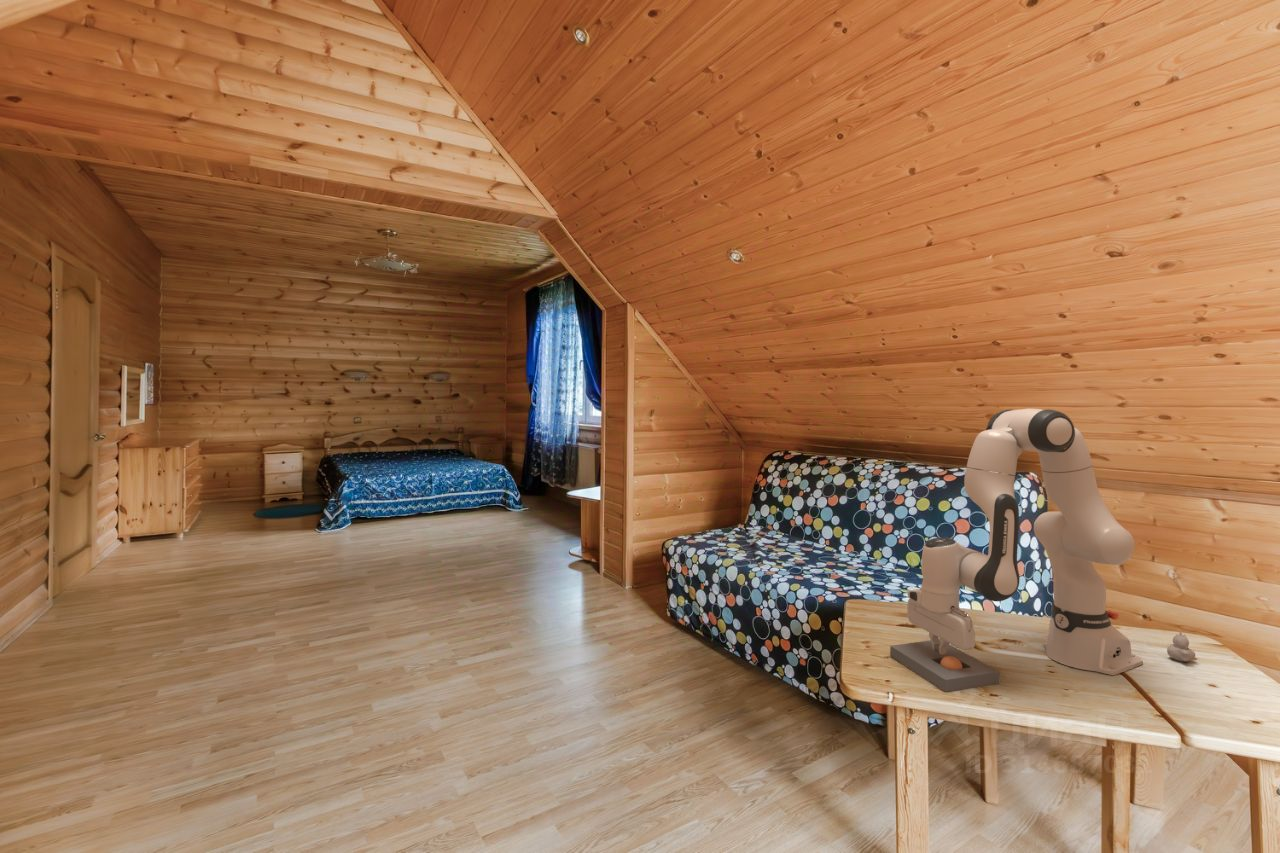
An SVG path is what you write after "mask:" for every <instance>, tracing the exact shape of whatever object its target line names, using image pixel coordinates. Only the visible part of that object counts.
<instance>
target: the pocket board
mask: <svg viewBox="0 0 1280 853" xmlns="http://www.w3.org/2000/svg"><path fill="white" fill-rule="evenodd" d="M939 642H940V641H939ZM940 644H941V642H940ZM932 647H933V644H932V642H931V639H930V640H924V641H915V642H907V643H902V644H901V643H900V644H895V645H894V644H893V645H890V648H889V649H890V650H889V651H890V654H889V657H890V658H892V659H894V660H895V661H896V662H898V663H900V664H901V665H903V666H904V667H906V668H907V669H908V670H910V671H912V672H913V673H915V674H916V675H918V676H919V677H921V678H922V679H924V680H926V681H927V682H929V683H931V684H932V685H934V686H935V687H937V688H938V689H940V690H941V691H943V693H944V692H945V693H949V692H954V691H959V690H967V689H973V688H978V687H985V686H991V685H998V684H1000V681H1001V680H1000V677H1001V674H1000V671H999V670H998V669H995V668H994V667H992V666H991V665H989V664H986V663H985V662H983V661H981V660H978V659H977V658H976V657H974V656H971V655H970V654H968V653H966V652H964V651H963V650H961V649H959V648H957V647H955V646H954V645H952V644H949V645H948V646H947V648H946V654H943V655H941V654H940V653H938V652H936V651H934V650H933V649H932ZM946 656H953V657H955V658H957V659H958V660H959V661H960V662H961V664H962V669H956V670H948V669H947V668H945V667H943V666H942V665H940V662H941V660H942V659H943V658H944V657H946Z"/></svg>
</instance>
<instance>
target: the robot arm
mask: <svg viewBox="0 0 1280 853" xmlns="http://www.w3.org/2000/svg"><path fill="white" fill-rule="evenodd" d="M1029 451H1030V452H1031V451H1033V452H1036V453H1037V454H1038V456H1039V457H1038V458H1039V463H1040V464H1039V465H1040V470H1041V475H1042V480H1043V484H1044V490H1045V493H1046V496H1047V498H1048V500H1049V501H1050V502H1051V503H1052V504H1053V505H1055V507H1056V508H1057V509H1058V510H1057V511H1054V510H1052V511H1045V512H1043V513H1040V515H1039V516H1037V518H1036V519H1035V521H1034V524H1033V534H1034V536H1035V537H1036V538H1037V540H1038V541H1039V543H1041V545H1042V547H1043V548H1044V550H1045V553H1046V554H1047V557H1048V560H1049V564H1050V566H1051V570H1052V574H1053V602H1052V603H1051V609H1050V610H1051V617H1052V618H1051V619H1050V620H1049V625H1048V634H1047V638H1046V639H1047V640H1046V641H1044V644H1043V646H1044V647H1045V651H1044V652H1045V655H1046V656H1047V657H1048V658H1050V659H1052V660H1053V661H1055V662H1057V663H1060V664H1062V665H1064V666H1068V667H1070V668H1071V667H1072V668H1075V669H1079V670H1084V671H1090V672H1097V673H1102V674H1106V675H1110V676H1116V675H1119V674H1121V673H1123V672H1126V671H1128V670H1130V669H1134V668H1137V667H1139V666H1142V665H1143V664H1144V662H1143V659H1141V657H1139V656H1138V655H1136V654H1134V653H1132V645H1131V641H1130V639H1129V638H1128V637H1127V636H1126V635H1124V634H1123V633H1122V632H1121V631H1119V630H1118V629H1117V628H1116V627H1114V626H1113V625H1112V623H1111V619H1112V620H1113V621H1117V620H1118V618H1119V616H1120V615H1119V614H1120V613H1118V612H1117V611H1112V610H1110V609H1109V610H1106V608H1107V607H1106V606H1107V605H1106V604H1107V603H1106V601H1107V584H1106V581H1105V579H1104V577H1102V575H1101V574H1099V572H1098V571H1097V570H1096V567H1095V565H1094V563H1096V564H1102V565H1103V564H1105V565H1113V566H1116V565H1119V566H1120V565H1122V564H1124V563H1127V561H1129V560H1130V559H1131V557H1132V556H1133V554H1134V551H1135V547H1136V545H1135V540H1134V537H1133V535H1132V534H1131V532H1129V531H1128V530H1127V529H1126V528H1124V526H1122V525H1121V524H1120V523H1119V522H1118V521H1117V520H1116V519H1115V517H1114V516H1113V514H1112V513H1111V512H1110V510H1109V508H1108V507H1107V505H1106V503H1105V502H1104V499H1103V498H1102V496H1101V493H1100V491H1099V488H1098V484H1097V480H1096V475H1095V471H1094V466H1093V461H1092V457H1091V454H1090V450H1089V448H1088V445H1087V442H1086V440H1085V438H1084V436H1083V433H1082V432H1081V431H1080V430H1079V429H1078V428H1076V427H1075V426H1074V423H1073V422H1072V420H1071V418H1070V417H1069V416H1068V415H1067V414H1065V413H1063V412H1061V411H1059V410H1055V409H1049V408H1048V409H1041V408H1028V407H1027V408H1022V409H1018V408H1017V409H1011V408H1009V409H1004V410H1002V411H1001V410H1000V411H999V412H996V413H995V414H994V415H992V416H991V418H990V419H989V421H988V423H987V425H986V427H985V429H984V430H983V431H980V432H979V433H978V434H977V435H976V436H975V440H974V441H973V444H972V446H971V449H970V453H969V455H968V458H967V463H966V468H965V472H964V473H965V474H964V479H963V480H964V481H963V482H964V485H963V486H964V491H965V493H966V494H967V496H968V498H969V499H970V500H971V501H972V502H973V503H974V504H976V505H977V506H978V507H979V508H980V509H981V510H982V511H983V513H984V514H985V516H986V517H987V519H988V522H989V535H988V536H989V539H988V553H987V554H985V553H983V552H980V551H978V550H974V549H972V548H968V547H966V546H964V545H962V544H960V543H959V542H957V541H956V540H955V539H953V538H949V537H936V538H935V537H934V538H931V539H929V540H927V541H925V543H924V546H923V547H922V548H923V549H922V554H921V568H920V569H921V574H922V582H921V584H920V585H921V586H920V588H917V589H910V590H907V597H908V600H907V608H906V609H907V610H906V611H907V612H906V613H907V614H906V615H907V619H908V621H909V623H911V624H912V625H915V626H916V627H917V628H920V629H922V630H924V631H926V632H928V637H929V639H930V640H931V642H932V644H933V647H932V649H933V650H934V651H936V652H938V653H940V654H941V655H943V654H946V648H947V646H948V645H951V646H953V647H955V648H957V649H959V650H961V651H968V650H973V649H974V647H976V635H975V634H976V633H975V628H974V624H973V619H972V617H970V615H969V613H968V612H966V611H965V610H962V609H960V587H967V588H969V589H970V590H973V591H975V592H977V593H978V594H980V595H981V596H983V597H984V598H985V599H987V600H989V601H992V602H1002V601H1006V600H1008V599H1010V598H1012V596H1013V595H1015V594H1016V593H1017V591H1018V589H1019V586H1020V572H1019V567H1018V547H1019V545H1018V544H1019V528H1020V526H1019V525H1020V511H1019V505H1018V503H1017V500H1016V497H1015V479H1016V473H1017V472H1016V471H1017V465H1018V458H1019V457H1020V456H1021V454H1022V453H1023V452H1029ZM939 641H940V642H941V644H940V642H939Z"/></svg>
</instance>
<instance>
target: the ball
mask: <svg viewBox="0 0 1280 853" xmlns="http://www.w3.org/2000/svg"><path fill="white" fill-rule="evenodd" d="M940 665H942V666H943V667H945V668H947V669H948V670H956V669H962V664H961V662H960V661H959V660H958V659H957V658H955V657H953V656H946V657H944V658H943V659H942V660H941V662H940Z"/></svg>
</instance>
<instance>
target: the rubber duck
mask: <svg viewBox="0 0 1280 853" xmlns="http://www.w3.org/2000/svg"><path fill="white" fill-rule="evenodd" d="M1189 646H1190V641H1189V639H1188V637H1187V635H1185V634H1184V635H1183V633H1182V631H1181V630H1179V634H1178V633H1177V634H1175V636H1173V638H1172V644H1170V645H1169V646H1168V647H1167V648H1166V652H1167V655H1168V656H1169V657H1170V658H1172V659H1173V660H1175V661H1178V662H1184V663H1185V662H1190V661H1194V660H1195V658H1196V653H1195V651H1194V650H1192V649H1191V648H1190V647H1189Z"/></svg>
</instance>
